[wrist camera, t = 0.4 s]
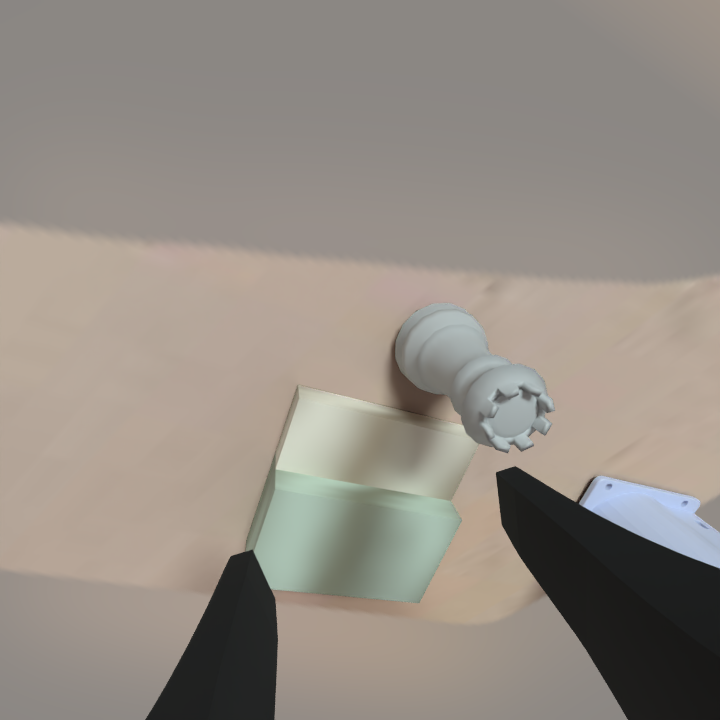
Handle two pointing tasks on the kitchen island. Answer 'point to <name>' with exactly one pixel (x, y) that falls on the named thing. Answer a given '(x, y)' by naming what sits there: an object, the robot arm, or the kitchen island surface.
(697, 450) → the kitchen island surface
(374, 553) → the stepped riser
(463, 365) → the rook chess piece
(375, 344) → the kitchen island surface
